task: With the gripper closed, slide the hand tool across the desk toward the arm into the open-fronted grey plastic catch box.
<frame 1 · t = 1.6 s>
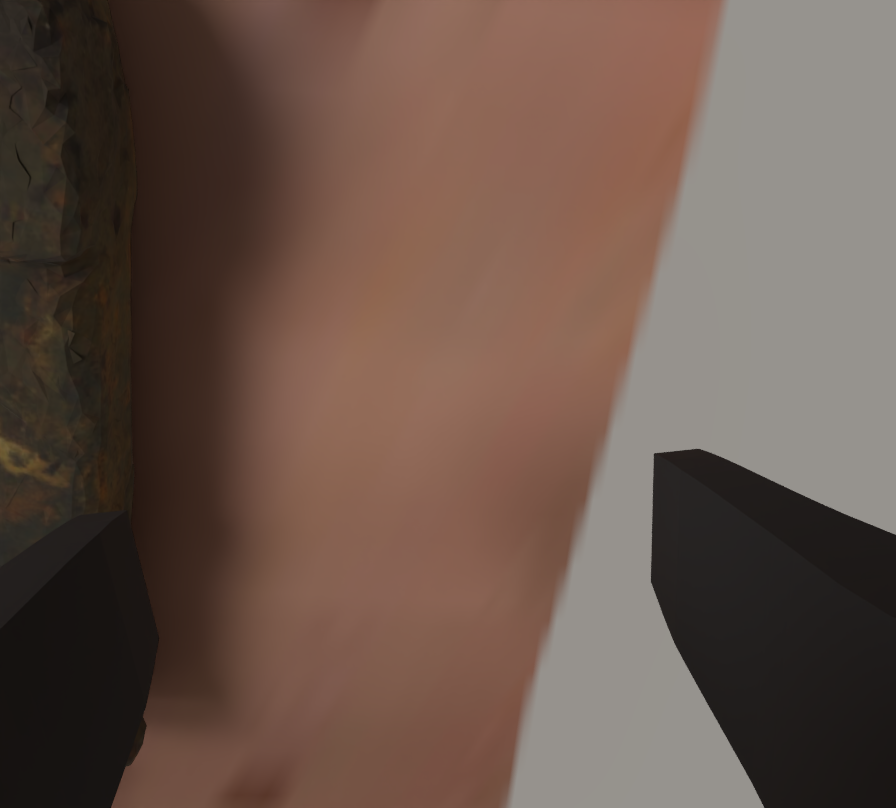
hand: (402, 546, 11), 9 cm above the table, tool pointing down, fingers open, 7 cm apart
hand tool: (61, 357, 20), on the table
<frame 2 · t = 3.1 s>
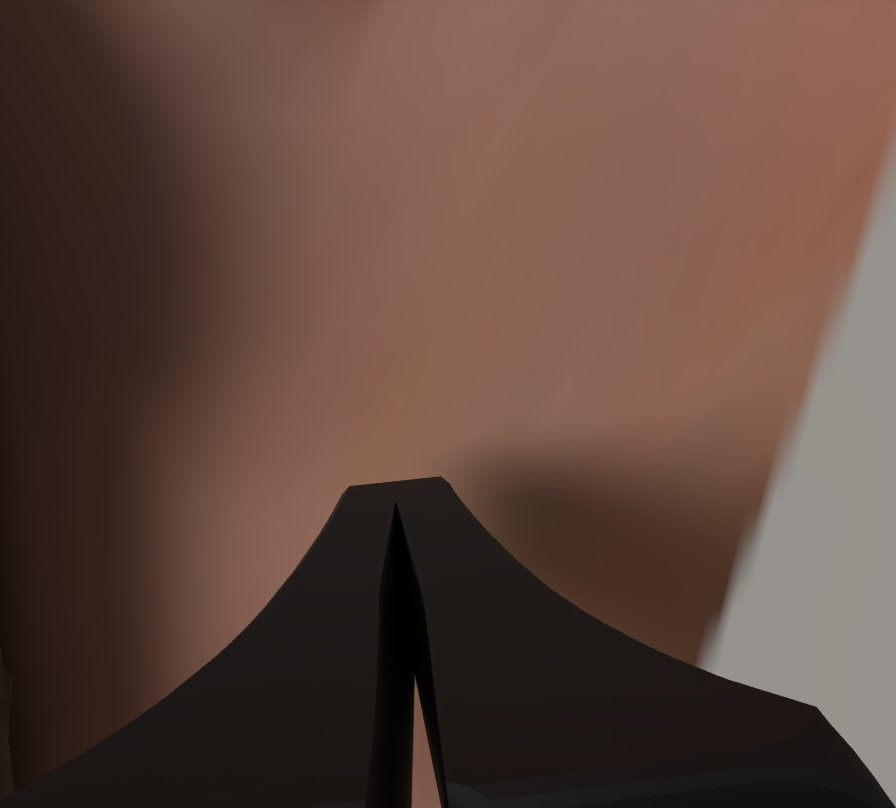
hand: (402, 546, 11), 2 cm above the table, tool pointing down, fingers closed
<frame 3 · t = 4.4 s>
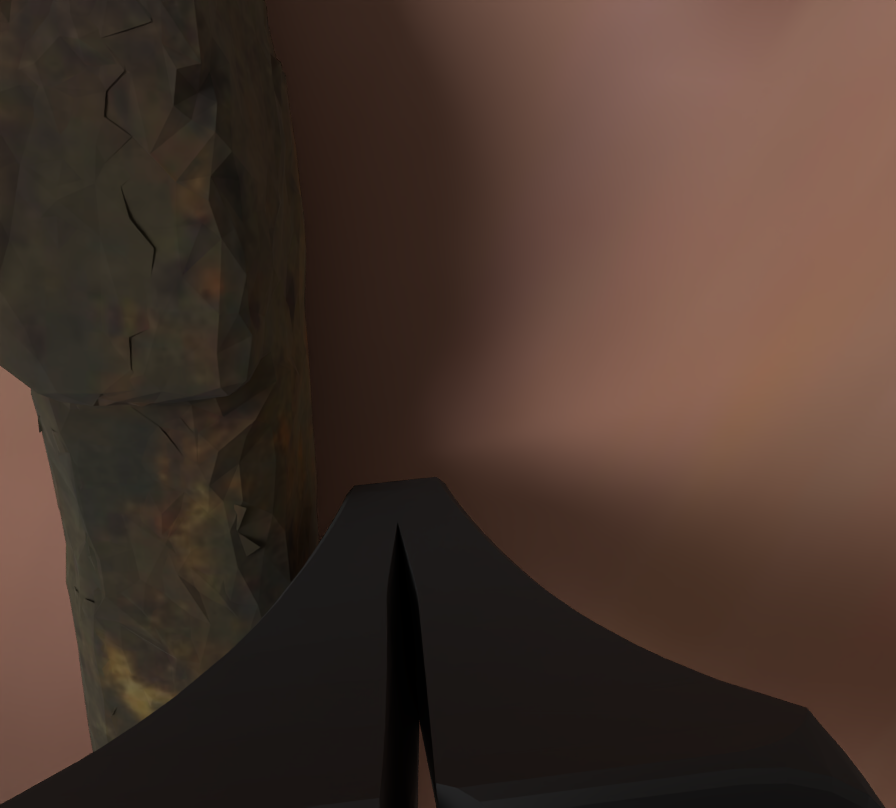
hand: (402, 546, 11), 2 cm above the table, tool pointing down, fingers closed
hand tool: (205, 500, 13), on the table, touching gripper
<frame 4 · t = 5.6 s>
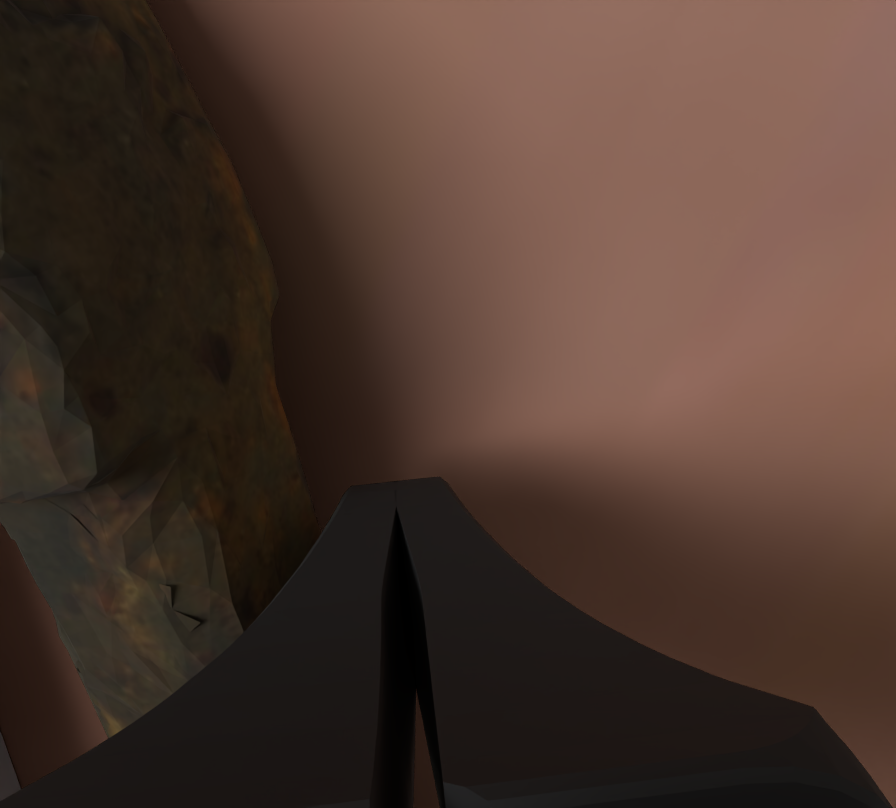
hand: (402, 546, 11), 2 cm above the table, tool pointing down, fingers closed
catch box: (132, 509, 13), on the table
hand tool: (262, 545, 13), on the table, touching gripper
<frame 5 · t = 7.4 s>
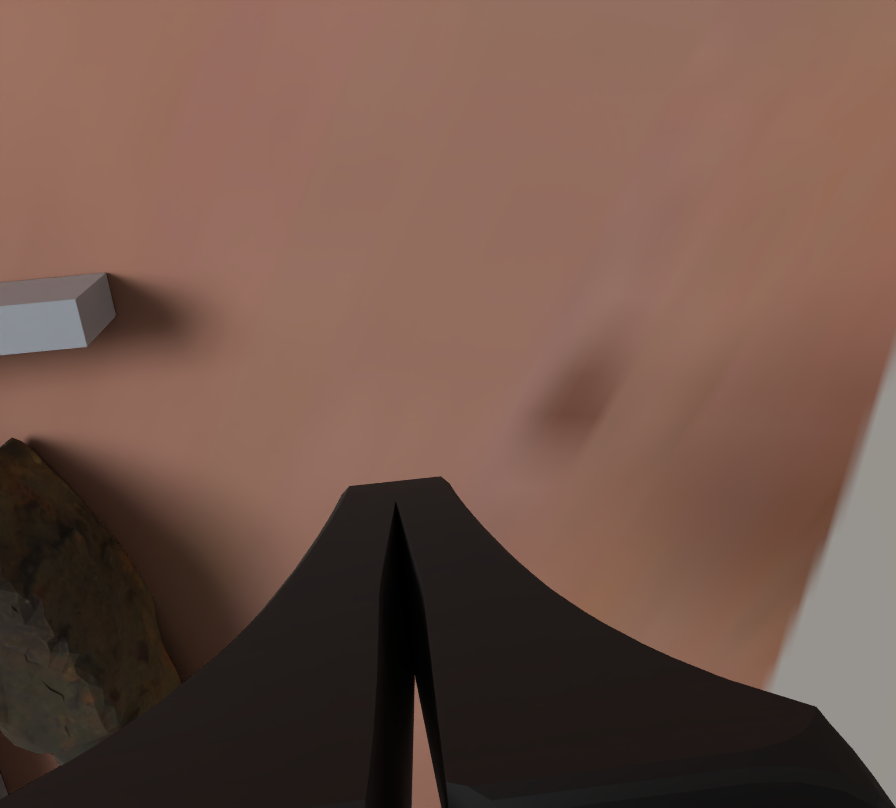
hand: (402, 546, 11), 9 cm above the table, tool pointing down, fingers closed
catch box: (94, 711, 23), on the table
hand tool: (156, 723, 24), on the table
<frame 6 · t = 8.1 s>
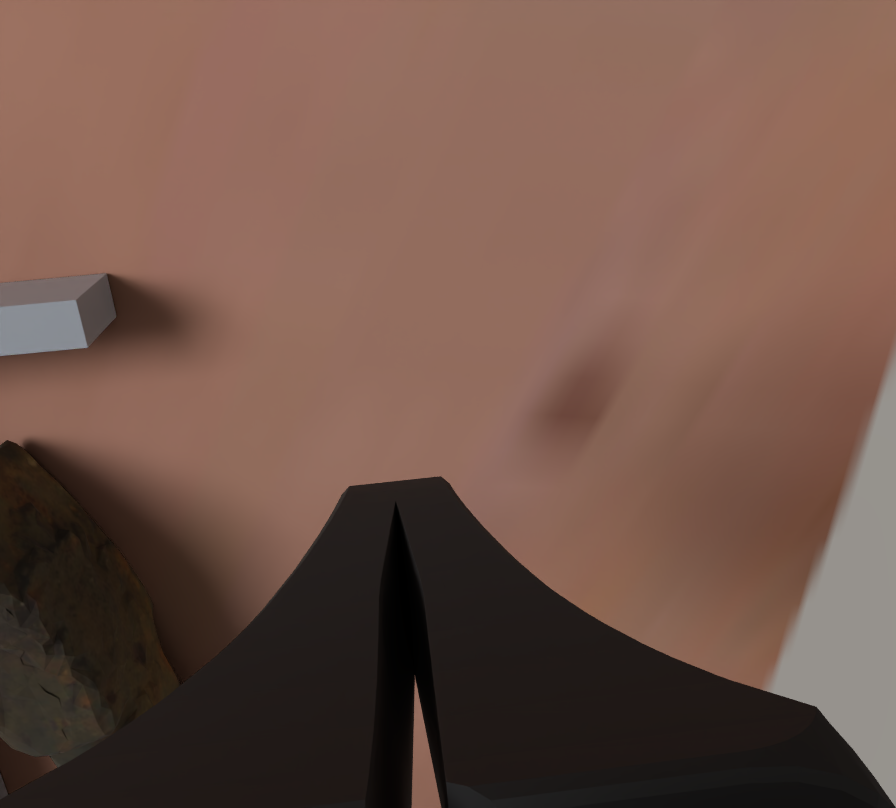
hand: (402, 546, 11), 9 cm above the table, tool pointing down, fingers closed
catch box: (94, 711, 23), on the table
hand tool: (154, 724, 24), on the table
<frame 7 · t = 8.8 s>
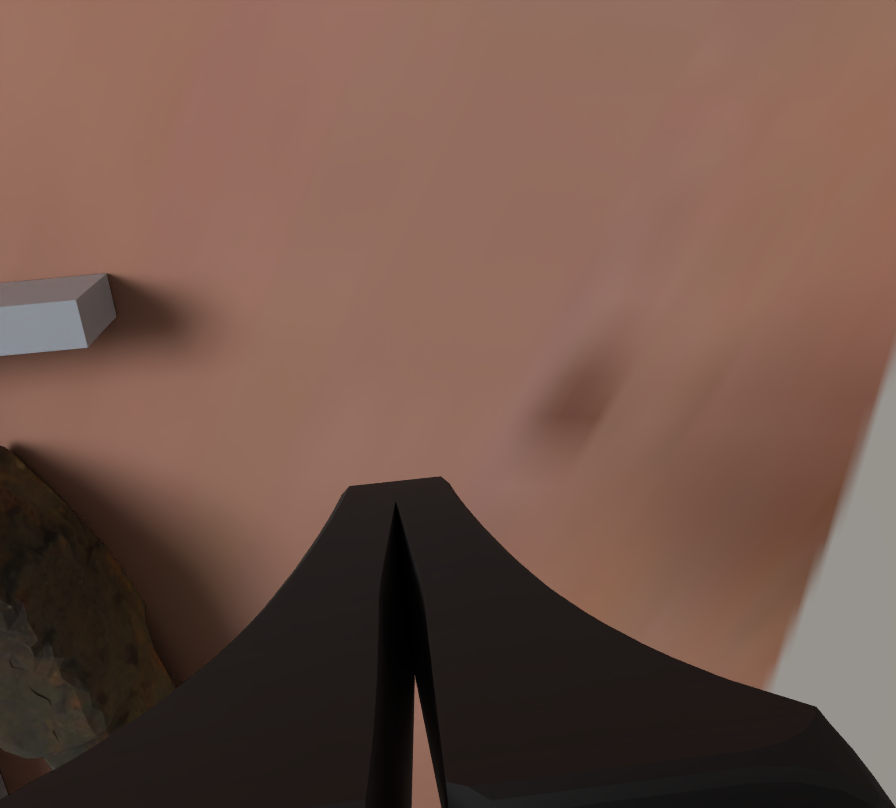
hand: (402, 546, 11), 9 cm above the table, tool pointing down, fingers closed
catch box: (94, 711, 23), on the table
hand tool: (151, 725, 24), on the table
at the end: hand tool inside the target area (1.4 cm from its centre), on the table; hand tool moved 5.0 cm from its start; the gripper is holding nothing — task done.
